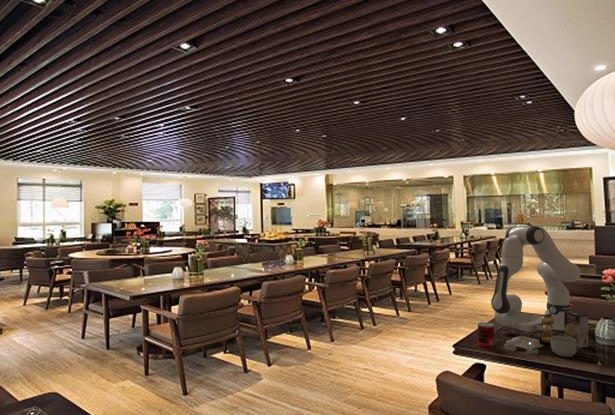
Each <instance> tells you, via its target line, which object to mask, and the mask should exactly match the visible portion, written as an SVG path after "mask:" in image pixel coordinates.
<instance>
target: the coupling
mask: <svg viewBox="0 0 615 415" xmlns="http://www.w3.org/2000/svg"><path fill="white" fill-rule="evenodd" d="M540 317H541V322H542V323H543V326H544V327H547V330H546V331H543V330H542V331H543V333H542V334H541V343H544V344H550V345H551V340H550V337H553V336H554V335H553V329H552V324H554V317H553V316H552V314H545V313H544V314H543V315H541V316H540Z"/></svg>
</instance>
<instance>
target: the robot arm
mask: <svg viewBox="0 0 615 415" xmlns="http://www.w3.org/2000/svg"><path fill="white" fill-rule="evenodd" d="M504 236H505V237H504V238H505V239H504V241H503V244H502V248H501V258H500V265H499V267H498V269H497V273H496V280H495V283H494V284H495V285H494V286H495V287H494V290H493V291H494V292H493V294H492V297H491V300H490V304H491V308H492V309H493V311H494V319H495V321H496V322H497V323H498V324H500V325H502V326H505V327H508V328H514V329H516V330H520V331H523V332H527V333H532V332H535V331H546V330H547V327H544V326H543V323H542V322H541V316H538V315H536V314H534V313H533V314H526V313H521V312H522V308H523V307H522V306H523V301H522V299H521V297H520V296H518V295H517V294H515V293H514V294H512V293H511V294H508V293H507V292H508V288H509V287H508V286H509V281H510V279H511V277H512V276H514V275H516V274H517V273H518V272H520V271H521V269H522V268H523V264H524V247H525V246H529V245H531V247H532V248H533V250H534V252H535V253H536V255H537V258H539V260H540V261H539V262H538V263H537V266H536V271H537V273H538V275H539V276H540V277H541V278H542V280H543V282H544V284H545V287H546V293H547V302H546V310H545V311H544V315H545V314H552V316H553V317H554V324H552V330H556V331H562V332H563V331H564V312H570V311H572V309H573V308H574V304H572V303H570V291H569V289H568V288H567V287H566V286H565V285H564V283H563V282H566V283H567V282H568V283H569V282H570V283H571V282H576V281H578V280H579V279H580V278H581V275H582V272H581V269H580V267H579V266H578V265H577V264H574V263H573V262H571V261H570V260H569V259H568V258H567V257H565V256H564V254H563V253H562V252H561V251H560V250H559V249H558V247H557V245H556V243H555V242H554V240H553V238H552V236H551V235H550V234H549V233H548V231H547V230H546V229H545V228H544V227H541V226H536V225H513V226H510V227H508V228H507V230H506V232H505V235H504Z"/></svg>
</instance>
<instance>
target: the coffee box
mask: <svg viewBox="0 0 615 415" xmlns="http://www.w3.org/2000/svg"><path fill="white" fill-rule="evenodd" d="M563 335H564V336H566V337H569V336H570V337H572V338H574V339H576V346H577V348H587V347H589V315H588V314H586V313H582V312H577V311H574V310H571V311H570V312H564V332H563Z"/></svg>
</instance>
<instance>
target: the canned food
mask: <svg viewBox="0 0 615 415" xmlns="http://www.w3.org/2000/svg"><path fill="white" fill-rule="evenodd" d="M477 344H478V346H479V347H481V348H485V349H491V348H493V347H494V346H495V324H493V323H491V322H486V321H484V322H483V321H481V322H478V323H477Z"/></svg>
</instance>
